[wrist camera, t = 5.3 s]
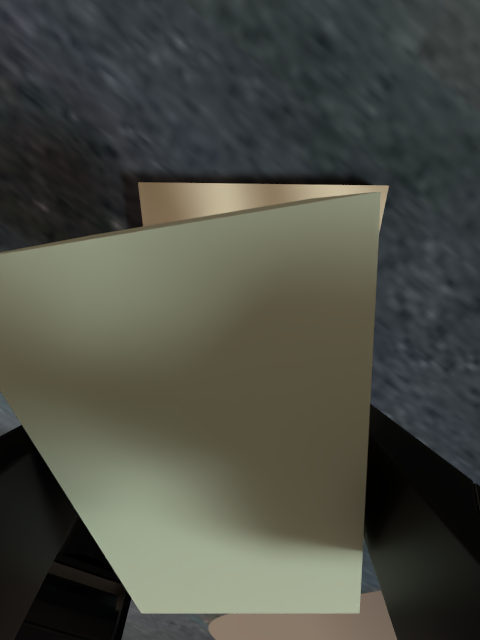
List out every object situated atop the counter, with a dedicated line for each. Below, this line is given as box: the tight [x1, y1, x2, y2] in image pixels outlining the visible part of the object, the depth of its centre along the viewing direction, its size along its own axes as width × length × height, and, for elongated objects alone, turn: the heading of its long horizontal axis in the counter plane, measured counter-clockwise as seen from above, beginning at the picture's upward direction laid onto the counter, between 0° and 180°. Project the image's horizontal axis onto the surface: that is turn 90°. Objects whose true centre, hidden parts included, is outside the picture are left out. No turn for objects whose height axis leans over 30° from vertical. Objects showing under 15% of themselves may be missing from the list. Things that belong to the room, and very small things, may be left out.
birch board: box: [138, 182, 389, 231], centre depth 18 cm, size 14×12×2 cm
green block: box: [0, 191, 381, 613], centre depth 7 cm, size 6×10×4 cm, turn 9°
